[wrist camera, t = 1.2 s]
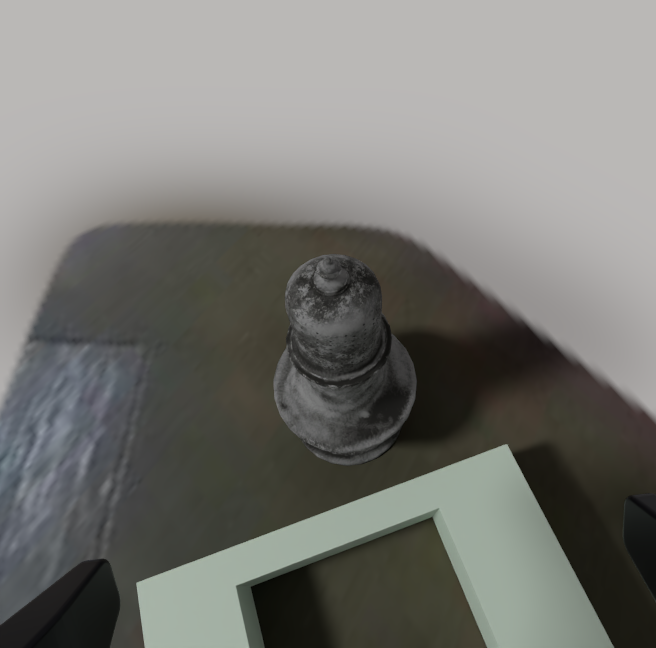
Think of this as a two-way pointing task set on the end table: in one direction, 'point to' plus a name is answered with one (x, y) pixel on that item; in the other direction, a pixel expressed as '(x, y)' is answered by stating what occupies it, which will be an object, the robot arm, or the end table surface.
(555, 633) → the socket board
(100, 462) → the end table surface
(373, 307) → the grey stone chess bishop
